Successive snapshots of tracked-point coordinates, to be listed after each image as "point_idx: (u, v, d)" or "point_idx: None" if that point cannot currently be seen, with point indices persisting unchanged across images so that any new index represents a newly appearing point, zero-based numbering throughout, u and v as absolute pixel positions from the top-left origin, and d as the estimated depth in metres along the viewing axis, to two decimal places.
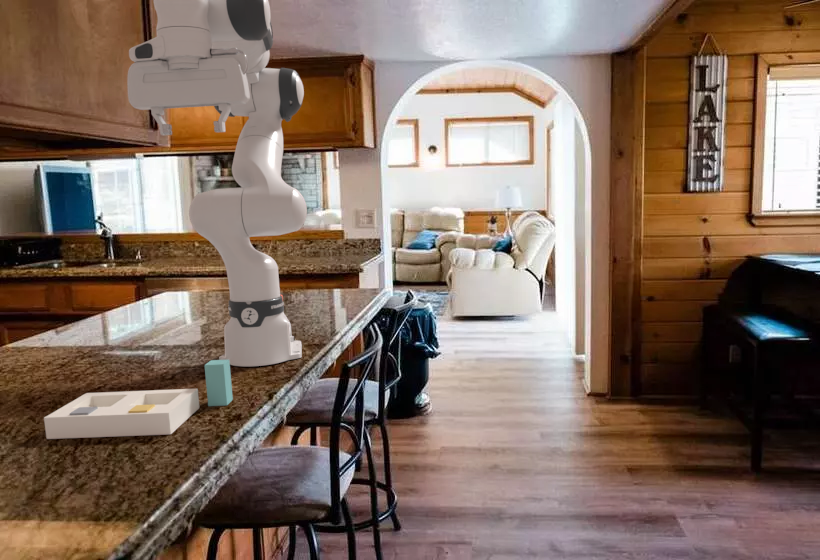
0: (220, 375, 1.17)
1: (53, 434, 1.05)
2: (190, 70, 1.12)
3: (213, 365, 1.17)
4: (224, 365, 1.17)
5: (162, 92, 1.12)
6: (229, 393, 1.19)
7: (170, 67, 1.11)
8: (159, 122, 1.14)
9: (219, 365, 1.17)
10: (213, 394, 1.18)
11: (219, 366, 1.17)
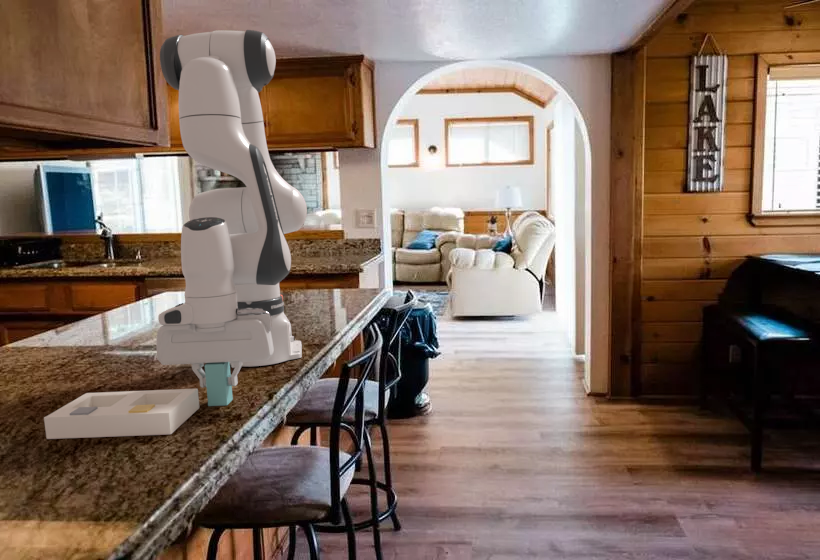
0: (220, 375, 1.17)
1: (53, 434, 1.05)
2: (217, 331, 1.16)
3: (213, 365, 1.17)
4: (224, 365, 1.17)
5: (190, 351, 1.17)
6: (229, 393, 1.19)
7: (197, 330, 1.16)
8: (199, 376, 1.18)
9: (219, 365, 1.17)
10: (213, 394, 1.18)
11: (219, 366, 1.17)
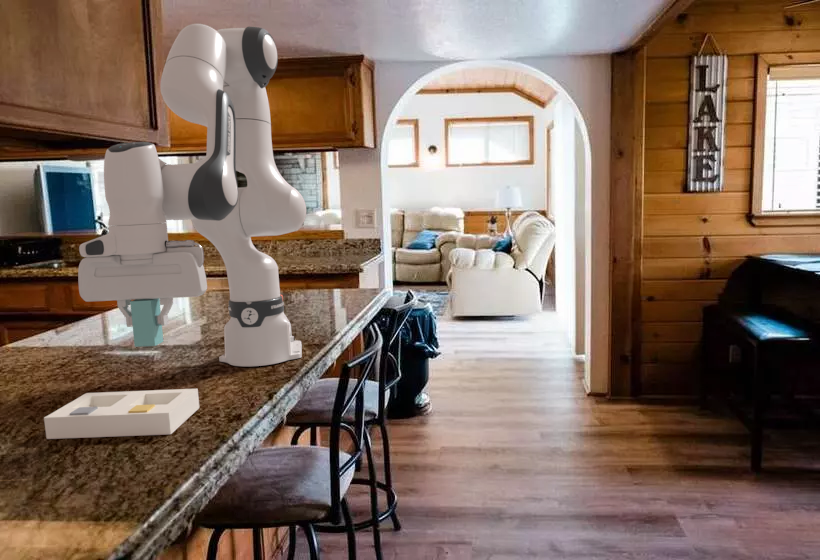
0: (147, 312, 1.08)
1: (53, 434, 1.05)
2: (143, 265, 1.07)
3: (140, 301, 1.08)
4: (152, 302, 1.08)
5: (114, 287, 1.07)
6: (158, 333, 1.10)
7: (122, 263, 1.06)
8: (126, 315, 1.09)
9: (146, 301, 1.08)
10: (140, 334, 1.08)
11: (146, 302, 1.08)
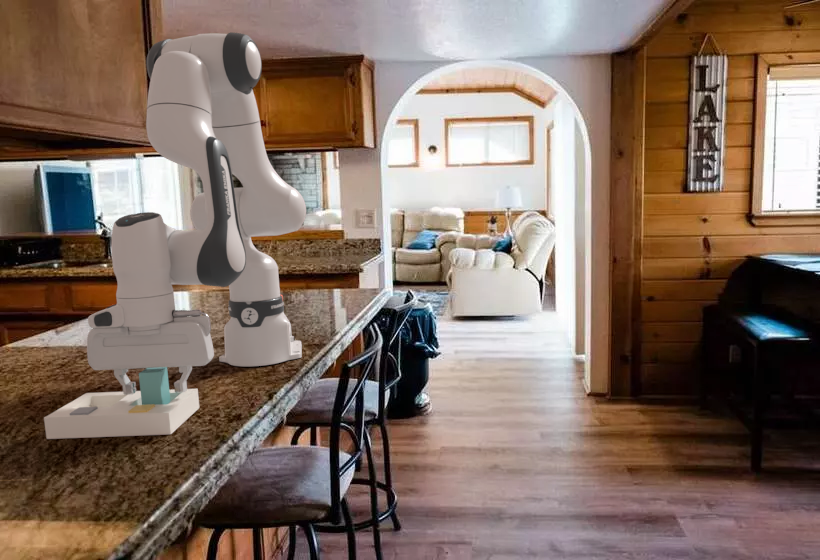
0: (155, 384, 1.10)
1: (53, 434, 1.05)
2: (151, 335, 1.09)
3: (148, 373, 1.09)
4: (160, 373, 1.10)
5: (123, 356, 1.09)
6: (166, 403, 1.12)
7: (130, 333, 1.08)
8: (122, 383, 1.11)
9: (154, 373, 1.09)
10: (148, 404, 1.10)
11: (154, 374, 1.09)
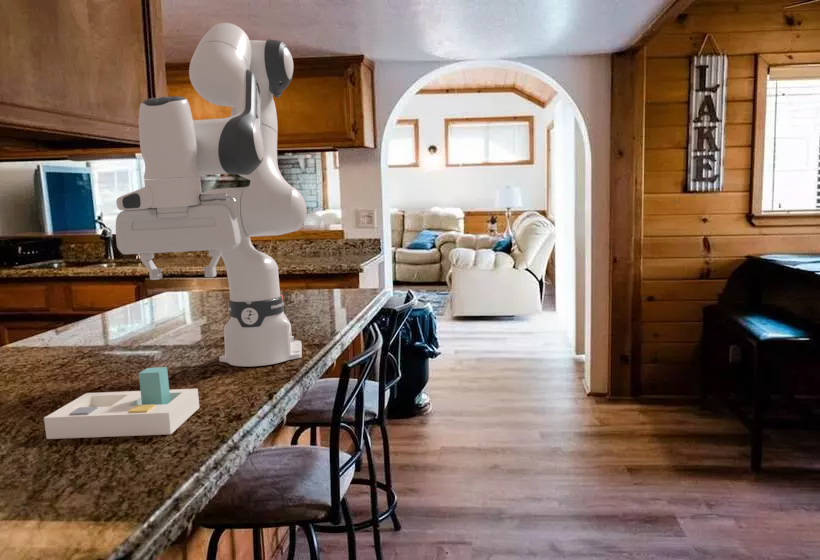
0: (155, 384, 1.10)
1: (53, 434, 1.05)
2: (179, 218, 1.09)
3: (148, 373, 1.09)
4: (160, 373, 1.10)
5: (151, 239, 1.10)
6: (166, 403, 1.12)
7: (158, 216, 1.09)
8: (149, 268, 1.12)
9: (154, 373, 1.09)
10: (148, 404, 1.10)
11: (154, 374, 1.09)
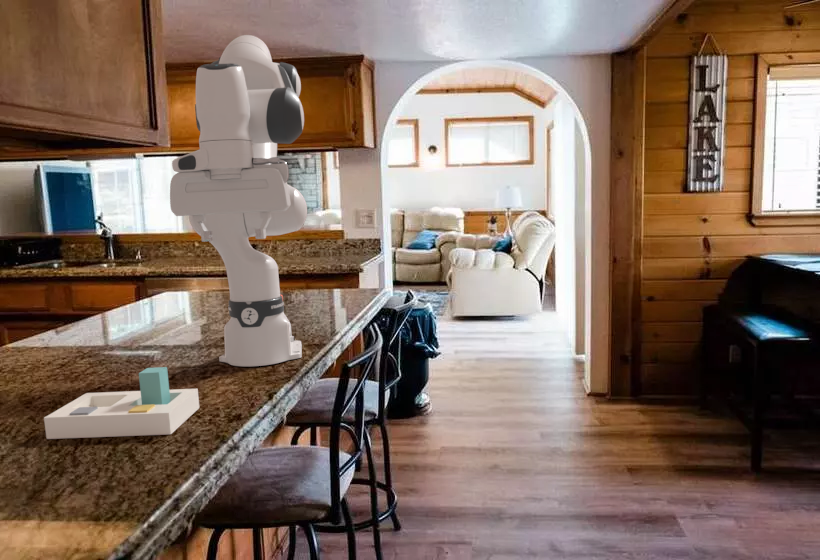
0: (155, 384, 1.10)
1: (53, 434, 1.05)
2: (232, 180, 1.13)
3: (148, 373, 1.09)
4: (160, 373, 1.10)
5: (204, 201, 1.13)
6: (166, 403, 1.12)
7: (212, 178, 1.12)
8: (201, 229, 1.15)
9: (154, 373, 1.09)
10: (148, 404, 1.10)
11: (154, 374, 1.09)
